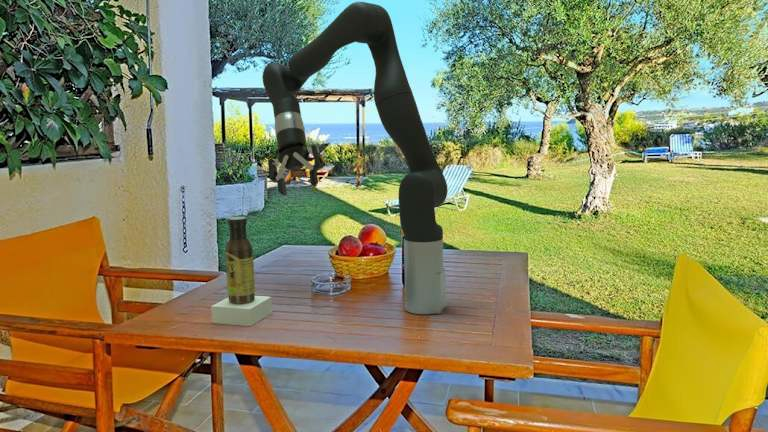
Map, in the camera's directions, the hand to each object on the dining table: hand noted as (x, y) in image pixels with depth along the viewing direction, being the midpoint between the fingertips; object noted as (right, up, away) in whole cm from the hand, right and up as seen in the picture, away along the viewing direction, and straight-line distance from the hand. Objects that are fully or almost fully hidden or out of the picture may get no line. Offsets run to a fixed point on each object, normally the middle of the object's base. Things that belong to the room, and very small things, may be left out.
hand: (298, 190), depth 149 cm
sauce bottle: (-12, -27, -11) cm, 31 cm away
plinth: (-12, -31, -11) cm, 34 cm away
